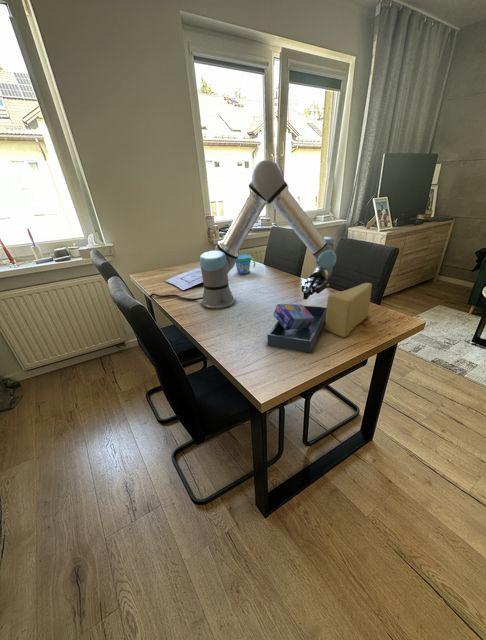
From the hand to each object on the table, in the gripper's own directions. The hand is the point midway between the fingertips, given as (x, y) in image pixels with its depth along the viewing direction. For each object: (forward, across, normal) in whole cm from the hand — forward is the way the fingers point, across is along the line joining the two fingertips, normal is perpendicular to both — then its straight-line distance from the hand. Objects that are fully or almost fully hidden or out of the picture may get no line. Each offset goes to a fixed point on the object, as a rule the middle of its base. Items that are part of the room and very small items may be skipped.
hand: (305, 295), depth 108 cm
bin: (+7, 0, -12) cm, 14 cm away
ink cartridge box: (+2, -1, -7) cm, 8 cm away
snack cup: (-57, +55, -12) cm, 81 cm away
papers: (-35, +76, -12) cm, 85 cm away
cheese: (-4, -18, -12) cm, 22 cm away
